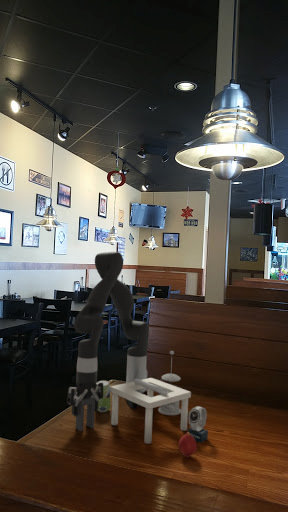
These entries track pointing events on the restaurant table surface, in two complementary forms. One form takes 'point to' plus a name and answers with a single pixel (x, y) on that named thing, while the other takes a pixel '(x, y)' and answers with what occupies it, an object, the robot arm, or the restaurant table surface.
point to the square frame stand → (150, 400)
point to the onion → (187, 445)
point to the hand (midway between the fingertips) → (84, 413)
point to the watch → (198, 418)
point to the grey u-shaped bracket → (90, 413)
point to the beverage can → (104, 397)
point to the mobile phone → (132, 404)
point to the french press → (174, 406)
